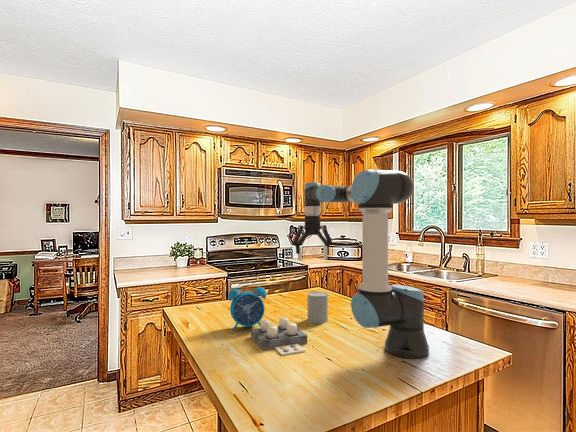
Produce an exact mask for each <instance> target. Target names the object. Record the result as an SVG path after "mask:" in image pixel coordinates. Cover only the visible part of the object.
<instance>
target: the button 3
mask: <svg viewBox="0 0 576 432" xmlns="http://www.w3.org/2000/svg"><path fill="white" fill-rule="evenodd" d="M288 323H290V318H289V317H280V318H279V319H278V326H279V328H280V329H287V324H288Z"/></svg>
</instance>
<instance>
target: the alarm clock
mask: <svg viewBox="0 0 576 432" xmlns="http://www.w3.org/2000/svg"><path fill="white" fill-rule="evenodd" d="M244 283H251V284H252V285H253V286H255V288H254V289H253V292H252V291H243V292H242V290H241V289H239V287H240V286H241V285H242V284H244ZM265 288H266V287H264V286H263V287H262V286H259V285H256V283H254V282H252V281H250V280H244V281H242V282H241V283H239V284H238V285H237V286H236V287H233V288H232V289H231V288H230V289H229V292H228V296H227V297H228V298H227V299H228V301H230V302H231V303H230V308H229V310H230V311H229V312H230V315H231V318H232V319H233V320H234V322H235V325H234V326H233V328H232V331H233V332H235V330H236V329H237V327H238V325H241V326H242V327H252V326H255V325H257V324H258V326H259V327H260V321H261V320H263V318H264V315H265V303H264V301H263V300H262V299H264V300H265V299H266V298H267V292H266V289H265Z"/></svg>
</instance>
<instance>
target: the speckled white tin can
mask: <svg viewBox="0 0 576 432" xmlns="http://www.w3.org/2000/svg"><path fill="white" fill-rule="evenodd" d="M306 295H307V322H309V323H311V324H325V323H328V321H329V320H328V318H329V317H328V316H329V313H328V312H329V309H328V308H329V303H328V302H329V299H328V295H329V294H328V293H327V292H323V291H311V292H307V294H306Z"/></svg>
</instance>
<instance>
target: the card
mask: <svg viewBox="0 0 576 432" xmlns="http://www.w3.org/2000/svg"><path fill="white" fill-rule="evenodd" d="M274 350H276V352H277V353H278V354H279V355H280V356H281V357H282V356H287V355H288V356H289V355H296V354H301V353H306V350H305V349H304V348H303V347H302V346H301V345H300V344H299V345H298V344H292V345H285V346H279V347H275V348H274Z"/></svg>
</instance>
